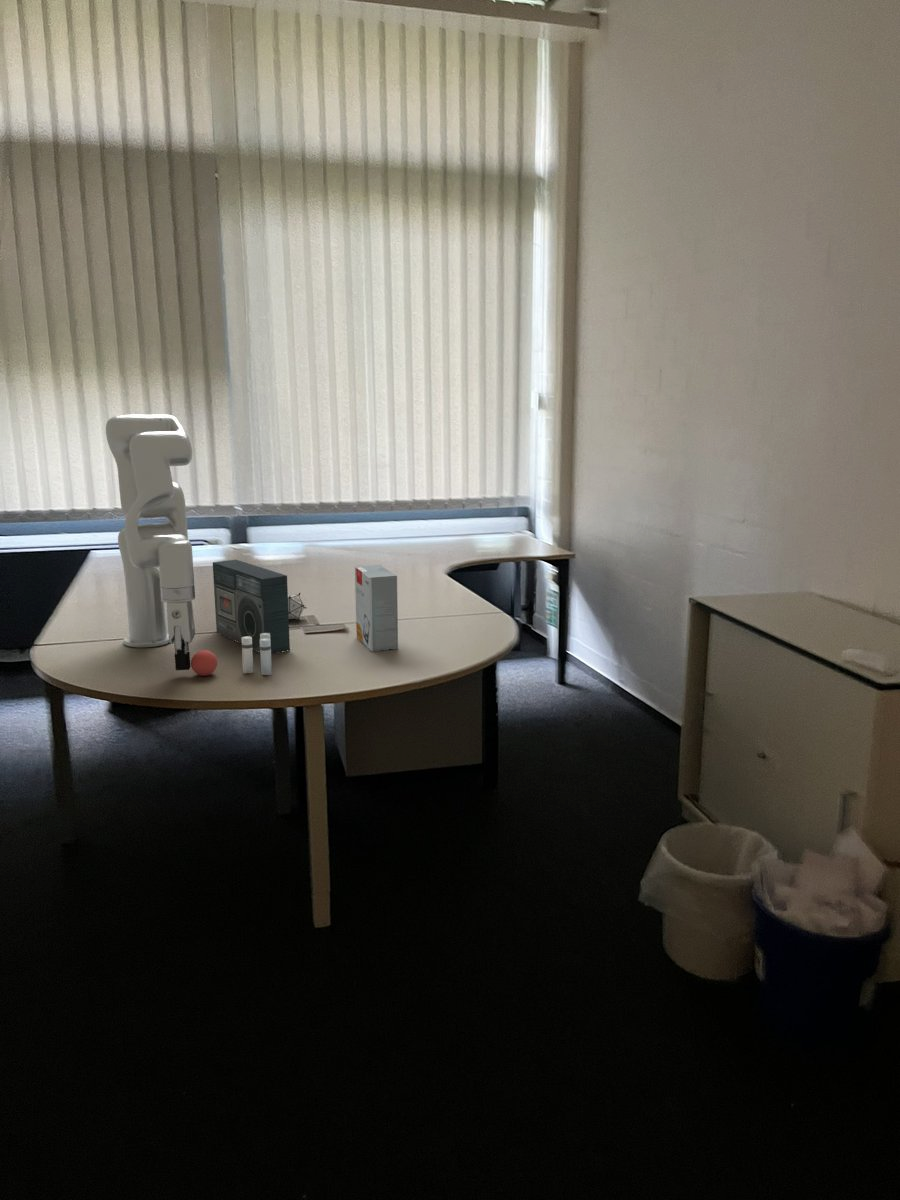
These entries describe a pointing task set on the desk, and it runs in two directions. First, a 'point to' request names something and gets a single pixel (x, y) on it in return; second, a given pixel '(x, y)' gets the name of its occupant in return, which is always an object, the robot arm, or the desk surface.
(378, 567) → the hard drive box
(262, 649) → the back right pin
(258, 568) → the cassette player
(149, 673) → the desk surface
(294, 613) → the game die
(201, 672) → the ball
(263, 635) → the back left pin
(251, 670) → the front pin
